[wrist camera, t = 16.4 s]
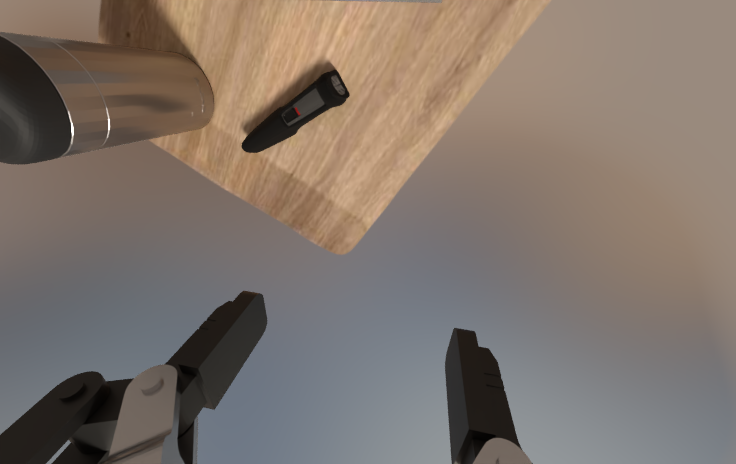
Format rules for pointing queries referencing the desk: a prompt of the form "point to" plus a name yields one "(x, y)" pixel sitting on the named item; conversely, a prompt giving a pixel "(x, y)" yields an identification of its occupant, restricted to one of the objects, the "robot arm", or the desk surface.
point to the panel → (398, 0)
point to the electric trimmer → (298, 112)
